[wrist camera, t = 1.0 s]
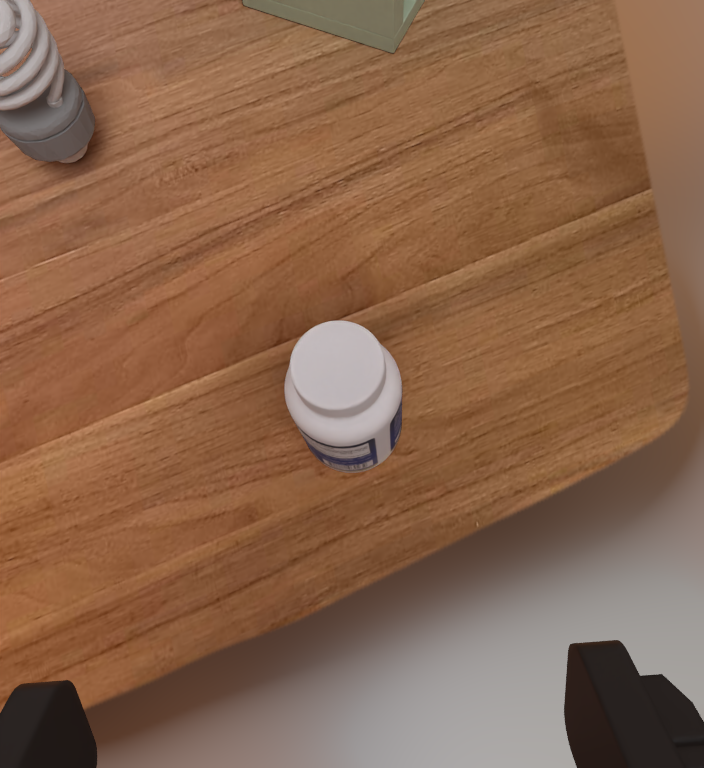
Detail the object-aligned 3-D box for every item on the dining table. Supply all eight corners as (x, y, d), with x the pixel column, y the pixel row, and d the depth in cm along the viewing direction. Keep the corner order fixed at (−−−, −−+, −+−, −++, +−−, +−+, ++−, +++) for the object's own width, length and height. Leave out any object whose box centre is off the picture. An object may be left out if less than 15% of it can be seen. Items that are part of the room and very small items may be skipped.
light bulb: (20, 183, 43) (-116, 29, 31) (54, 116, 44) (-63, -54, 33) (98, 198, 42) (-13, 46, 30) (129, 129, 43) (35, -40, 32)
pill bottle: (354, 362, 37) (340, 280, 28) (421, 426, 35) (431, 362, 26) (284, 425, 36) (245, 362, 27) (350, 495, 34) (334, 453, 25)
